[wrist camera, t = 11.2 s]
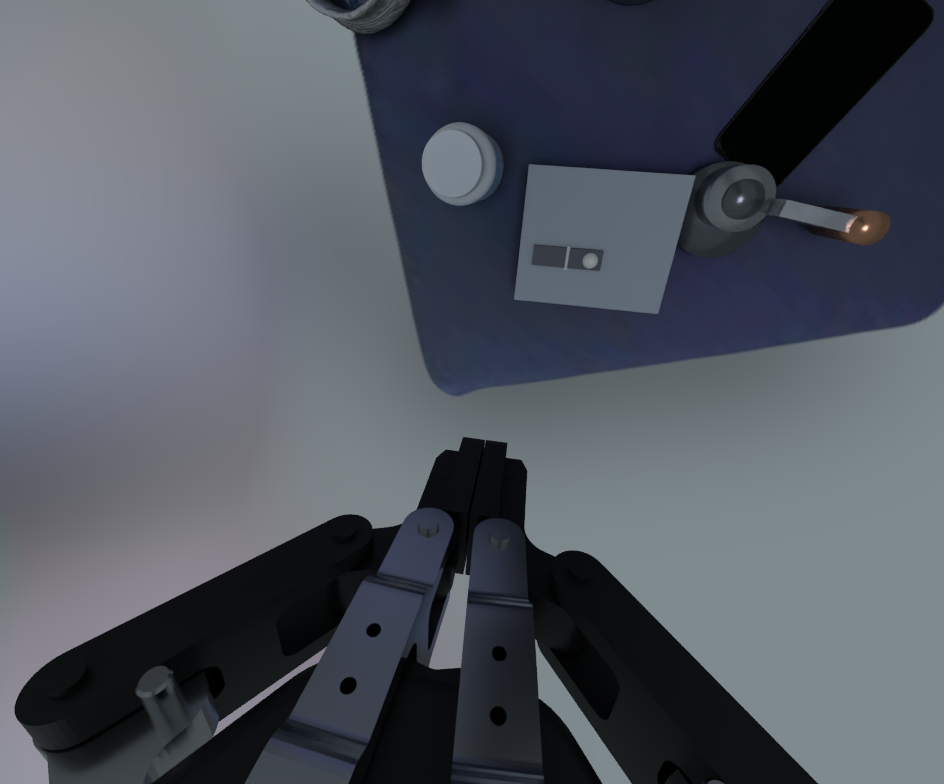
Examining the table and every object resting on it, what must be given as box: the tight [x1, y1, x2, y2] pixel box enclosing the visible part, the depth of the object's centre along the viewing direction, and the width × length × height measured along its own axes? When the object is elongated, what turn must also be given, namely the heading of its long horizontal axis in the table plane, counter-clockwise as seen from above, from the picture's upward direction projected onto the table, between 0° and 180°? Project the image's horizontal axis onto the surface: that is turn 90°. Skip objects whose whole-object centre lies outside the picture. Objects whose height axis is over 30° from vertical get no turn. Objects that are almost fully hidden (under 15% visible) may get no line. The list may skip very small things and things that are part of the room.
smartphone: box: [714, 0, 934, 188], centre depth 35 cm, size 7×1×15 cm
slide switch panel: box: [514, 164, 695, 314], centre depth 40 cm, size 12×14×6 cm
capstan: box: [677, 161, 890, 258], centre depth 36 cm, size 14×8×8 cm, turn 78°
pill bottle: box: [422, 122, 504, 206], centre depth 37 cm, size 6×6×11 cm
